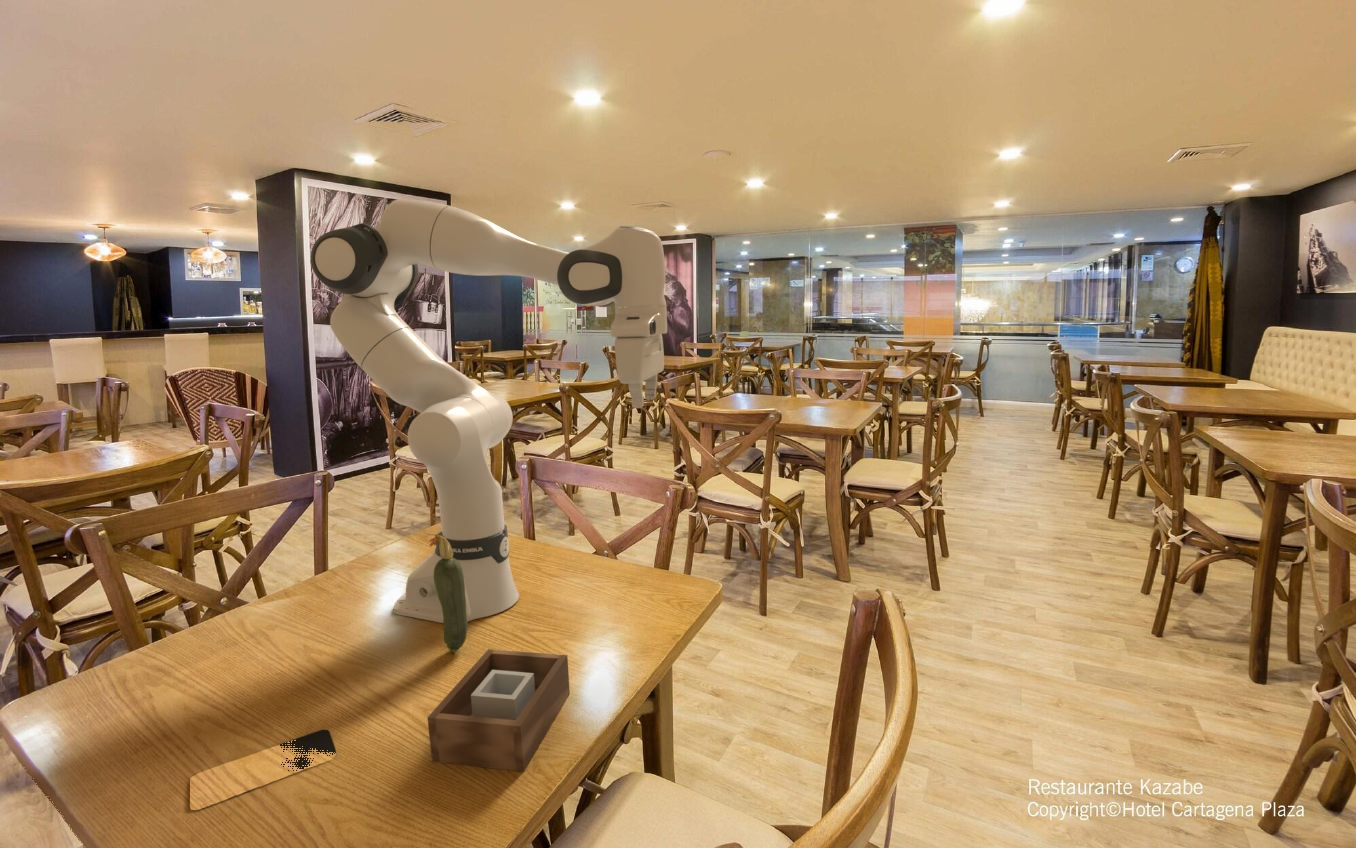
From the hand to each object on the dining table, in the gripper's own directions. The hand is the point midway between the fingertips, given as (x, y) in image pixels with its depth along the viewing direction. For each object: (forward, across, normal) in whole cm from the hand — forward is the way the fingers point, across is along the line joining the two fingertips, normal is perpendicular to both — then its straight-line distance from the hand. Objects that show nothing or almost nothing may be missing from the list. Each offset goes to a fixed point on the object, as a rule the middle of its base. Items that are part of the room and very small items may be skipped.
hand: (644, 403), depth 116 cm
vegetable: (+37, +23, -27) cm, 51 cm away
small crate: (+36, +39, -11) cm, 54 cm away
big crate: (+37, +39, -11) cm, 55 cm away
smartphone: (+38, +51, -37) cm, 73 cm away
